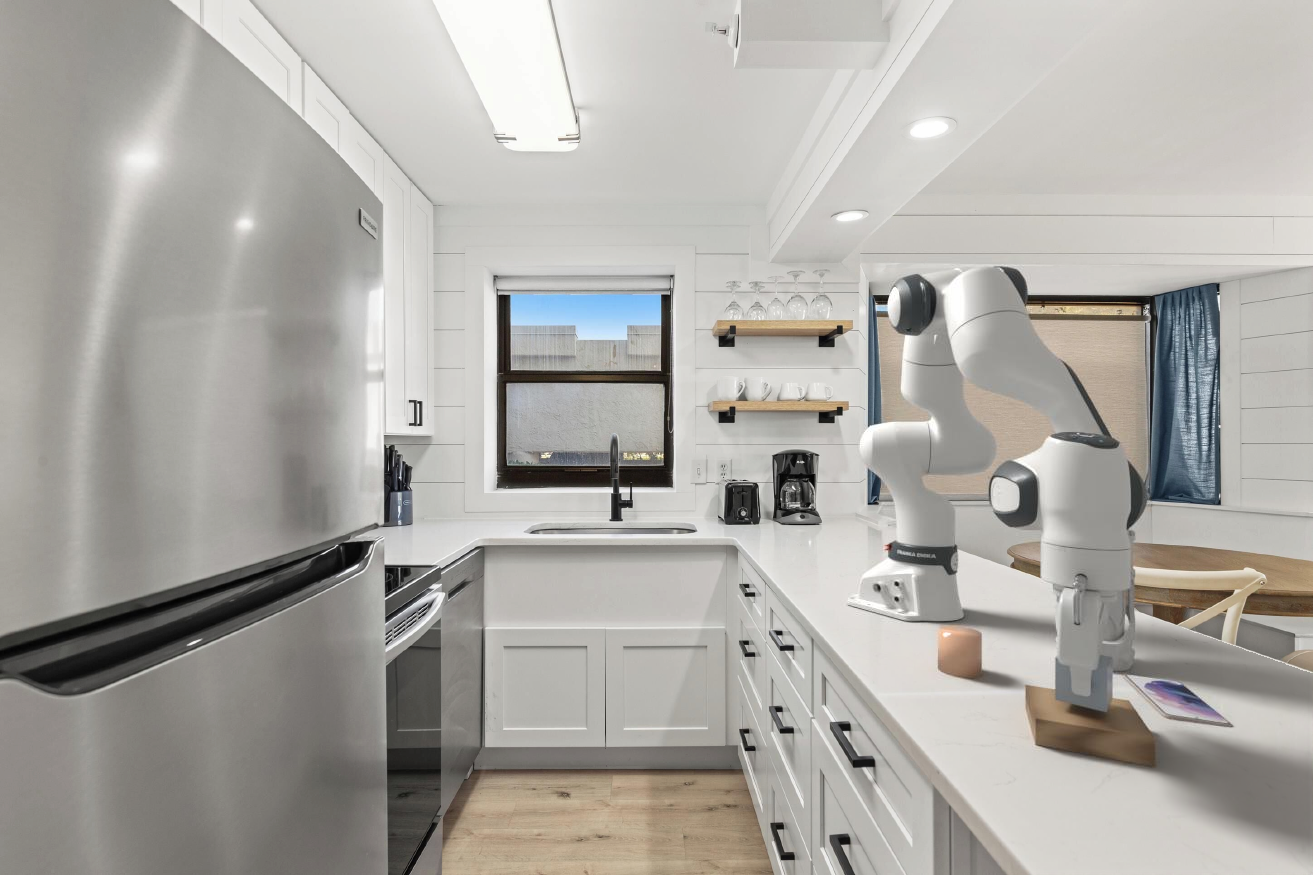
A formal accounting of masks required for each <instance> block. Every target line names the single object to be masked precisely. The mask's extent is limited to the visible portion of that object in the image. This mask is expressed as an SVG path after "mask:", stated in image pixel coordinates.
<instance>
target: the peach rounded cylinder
mask: <svg viewBox="0 0 1313 875" xmlns="http://www.w3.org/2000/svg"><path fill="white" fill-rule="evenodd" d="M982 645H983V634H982V632H981V631H979V630H977V629H974V628H971V627H968V626H967V627H966V626H961V625H940V626H939V627H938V628H937V669H938V671H940V672H941V673H943V674H945V675H948V676H951V677H956V678H961V679H962V678H963V679H977V678H980V677H982V674H983V671H982V669H983V667H982V666H983V661H982V660H983V650H982V649H983V648H982V647H983V646H982Z"/></svg>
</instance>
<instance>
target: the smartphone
mask: <svg viewBox="0 0 1313 875" xmlns="http://www.w3.org/2000/svg"><path fill="white" fill-rule="evenodd" d="M1123 679H1124V680H1125V681H1126V682H1127V683H1128V684H1129V685H1130V686H1131V687H1132V688H1133V689H1134V690H1135V691H1136V692H1137V693H1138V694H1139V695H1140V696H1141V697H1142V698H1143V699H1144V700H1146V702H1148V704H1149V705H1150V706H1151V707H1152V708H1153V709H1154V710H1155V711H1156V712H1157V713H1159V715H1160V716H1161V717H1163V718H1165V719H1168V720H1172V719H1173V721H1181V722H1187V723H1193V724H1194V723H1196V724H1202V725H1203V724H1204V725H1209V726H1217V727H1224V728H1226V727H1227V728H1232V727H1233V726H1232V723H1231V721H1229V720H1228V719H1226V718H1225V717H1224V716H1222V715H1221V714H1220V713H1219V712H1218V711H1216V710H1215V709H1214V708H1213V707H1211V706H1210V704H1208V703H1206V702H1205V701H1204V700H1203V699H1201V697H1199V696H1198V695H1197V694H1195V693H1194V692H1193V691H1192V690H1190V688H1188V687H1187V686H1186V685H1184V684H1183V683H1182V682H1180V681H1178V680H1177V681H1176V680H1171V679H1163V678H1156V677H1149V676H1143V675H1142V676H1141V675H1135V674H1127V673H1126V674H1124V675H1123Z"/></svg>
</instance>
